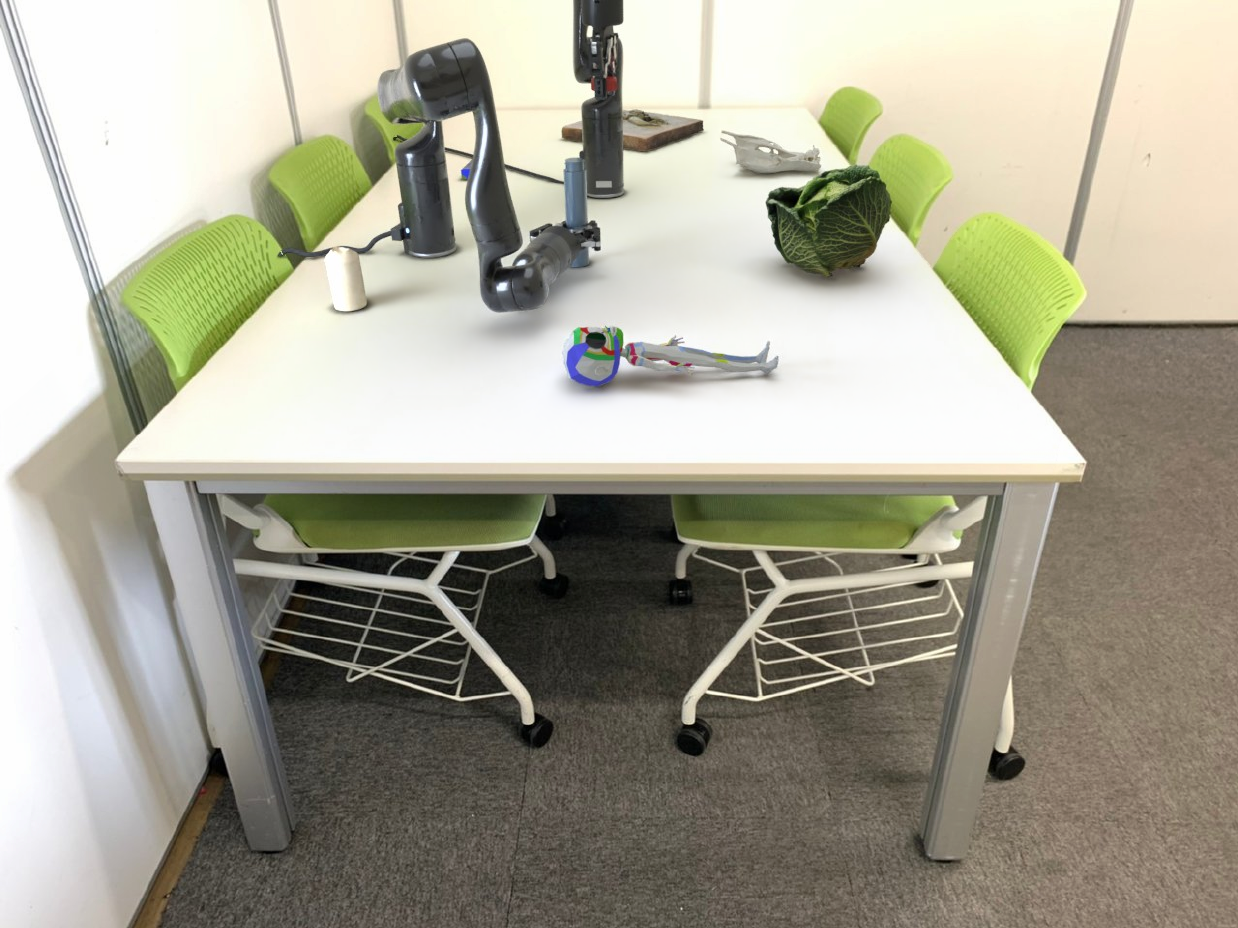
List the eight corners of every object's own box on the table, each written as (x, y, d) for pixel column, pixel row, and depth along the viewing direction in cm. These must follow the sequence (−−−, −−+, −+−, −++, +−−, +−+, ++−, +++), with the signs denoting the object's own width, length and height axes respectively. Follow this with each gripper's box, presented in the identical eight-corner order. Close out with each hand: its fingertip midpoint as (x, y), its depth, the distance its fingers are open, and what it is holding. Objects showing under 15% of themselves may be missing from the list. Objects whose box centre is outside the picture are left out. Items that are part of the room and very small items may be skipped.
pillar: (489, 151, 236) (469, 170, 219) (489, 159, 237) (470, 179, 220) (481, 151, 236) (460, 170, 220) (481, 159, 237) (461, 179, 221)
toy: (785, 354, 123) (568, 337, 118) (772, 408, 127) (562, 393, 123) (768, 325, 132) (564, 307, 127) (755, 376, 136) (559, 361, 131)
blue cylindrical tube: (566, 267, 168) (561, 162, 158) (569, 259, 171) (564, 157, 161) (588, 267, 167) (584, 162, 157) (590, 260, 171) (586, 157, 161)
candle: (373, 301, 154) (363, 244, 149) (355, 313, 150) (344, 255, 145) (346, 297, 156) (335, 241, 150) (327, 309, 151) (316, 252, 146)
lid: (611, 86, 171) (611, 75, 170) (620, 90, 167) (620, 79, 166) (587, 88, 169) (587, 77, 168) (596, 92, 165) (596, 81, 164)
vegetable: (790, 294, 172) (743, 202, 165) (870, 239, 174) (827, 145, 166) (841, 308, 154) (791, 205, 146) (931, 246, 155) (886, 140, 148)
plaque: (647, 125, 237) (559, 112, 252) (647, 153, 241) (560, 139, 256) (706, 107, 258) (622, 97, 273) (705, 133, 262) (622, 121, 277)
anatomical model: (722, 127, 227) (822, 125, 223) (721, 164, 232) (819, 163, 228) (719, 141, 215) (824, 139, 211) (718, 179, 220) (821, 179, 216)
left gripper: (589, 236, 150) (617, 207, 164) (510, 230, 154) (545, 202, 168) (590, 279, 154) (618, 247, 168) (513, 271, 158) (547, 241, 172)
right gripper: (592, -9, 166) (594, 89, 175) (570, -1, 155) (574, 103, 164) (631, -9, 165) (632, 90, 174) (612, -1, 153) (614, 105, 162)
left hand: (581, 224), depth 168 cm, fingers closed on blue cylindrical tube, 4 cm apart
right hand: (604, 96), depth 169 cm, fingers closed on lid, 4 cm apart
